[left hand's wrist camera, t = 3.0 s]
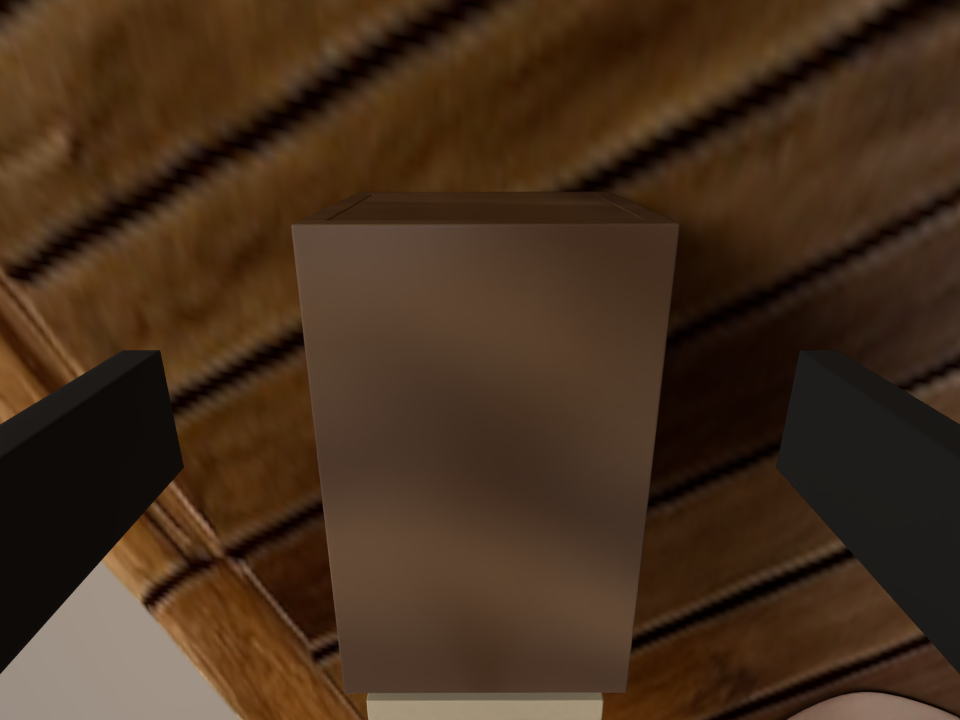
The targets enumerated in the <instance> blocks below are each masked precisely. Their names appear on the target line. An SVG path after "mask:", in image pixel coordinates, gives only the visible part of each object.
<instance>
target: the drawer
mask: <svg viewBox="0 0 960 720" xmlns="http://www.w3.org/2000/svg"><path fill="white" fill-rule="evenodd" d="M367 710H368V720H602V710H603V696H602V693H368V697H367Z"/></svg>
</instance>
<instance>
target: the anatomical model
mask: <svg viewBox="0 0 960 720" xmlns="http://www.w3.org/2000/svg"><path fill="white" fill-rule="evenodd" d="M787 720H960V718H958V717H956V716H954V715H952V714H949V713H947V712H945V711H942V710H940V709H937V708H934V707H932V706H929V705H926V704H923V703H920V702H917V701H913V700H910V699H906V698H903V697H899V696H894V695H889V694H884V693H874V692H858V693H850V694H845V695H840V696H837V697H834V698H831V699H828V700H825V701H823V702H820V703H818V704H816V705H813V706H811V707H809V708H807V709H805V710H803V711H801V712H799V713H797V714H796V715H794V716H792V717H790V718H788V719H787Z"/></svg>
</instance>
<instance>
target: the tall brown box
mask: <svg viewBox="0 0 960 720" xmlns="http://www.w3.org/2000/svg"><path fill="white" fill-rule="evenodd" d="M679 227H680V225H679V223H677V222H675V221H672V220H671V219H669V218H666V217H664V216H662V215H660V214H658V213H655V212H653V211H651V210H649V209H646V208H644V207H642V206H640V205H637V204H635V203H633V202H631V201H629V200H626V199H624V198H622V197H620V196H617V195H615V194H613V193H610V192H358V193H356V194H354V195H352V196H350V197H348V198H346V199H344V200H342V201H340V202H338V203H336V204H334V205H332V206H330V207H327V208H325V209H323V210H321V211H319V212H317V213H315V214H313V215H311V216H309V217H307V218H305V219H303V220H301V221H298V222H296V223H294V224H292V226H291V229H292V238H293V247H294V256H295V264H296V273H297V282H298V291H299V299H300V308H301V317H302V326H303V334H304V343H305V352H306V361H307V369H308V378H309V387H310V396H311V404H312V413H313V422H314V431H315V439H316V448H317V457H318V466H319V475H320V483H321V492H322V501H323V510H324V518H325V527H326V536H327V545H328V553H329V562H330V571H331V580H332V588H333V597H334V606H335V615H336V623H337V632H338V641H339V650H340V658H341V667H342V676H343V685H344V692H345V693H625V692H626V688H627V680H628V671H629V662H630V653H631V645H632V636H633V627H634V619H635V610H636V601H637V593H638V584H639V575H640V567H641V558H642V549H643V540H644V532H645V523H646V514H647V506H648V497H649V488H650V480H651V471H652V462H653V453H654V445H655V436H656V427H657V419H658V410H659V401H660V393H661V384H662V375H663V367H664V358H665V349H666V340H667V332H668V323H669V314H670V306H671V297H672V288H673V280H674V271H675V262H676V254H677V245H678V236H679Z"/></svg>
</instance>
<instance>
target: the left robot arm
mask: <svg viewBox="0 0 960 720" xmlns="http://www.w3.org/2000/svg"><path fill="white" fill-rule="evenodd" d="M183 468H184V466H183V461H182V456H181V451H180V446H179V441H178V436H177V431H176V426H175V422H174V417H173V412H172V407H171V402H170V397H169V392H168V387H167V382H166V377H165V372H164V367H163V362H162V358H161V353H160V350H123V351H121V352H119V353H118V354H116V355H114V356H113V357H111V358H109V359H108V360H106V361H104V362H103V363H101V364H100V365H98V366H96V367H95V368H93V369H91V370H90V371H88V372H86V373H85V374H83V375H81V376H80V377H78V378H76V379H75V380H73V381H71V382H70V383H68V384H66V385H65V386H63V387H62V388H60V389H58V390H57V391H55V392H53V393H52V394H50V395H48V396H47V397H45V398H43V399H42V400H40V401H38V402H37V403H35V404H33V405H32V406H30V407H28V408H27V409H25V410H24V411H22V412H20V413H19V414H17V415H15V416H14V417H12V418H10V419H9V420H7V421H5V422H4V423H2V424H0V674H1V673H2V671H3V670H4V669H5V668H6V667H7V666H8V665H9V664H10V662H11V661H12V660H13V659H14V658H15V657H16V656H17V655H18V654H19V652H20V651H21V650H22V649H23V648H24V647H25V646H26V645H27V643H28V642H29V641H30V640H31V639H32V638H33V637H34V636H35V634H36V633H37V632H38V631H39V630H40V629H41V628H42V627H43V625H44V624H45V623H46V622H47V621H48V620H49V619H50V618H51V616H52V615H53V614H54V613H55V612H56V611H57V610H58V609H59V607H60V606H61V605H62V604H63V603H64V602H65V601H66V599H67V598H68V597H69V596H70V595H71V594H72V593H73V592H74V591H75V589H76V588H77V587H78V586H79V585H80V584H81V583H82V581H83V580H84V579H85V578H86V577H87V576H88V575H89V574H90V572H91V571H92V570H93V569H94V568H95V567H96V566H97V565H98V563H99V562H100V561H101V560H102V559H103V558H104V557H105V556H106V555H107V553H108V552H109V551H110V550H111V549H112V548H113V547H114V546H115V544H116V543H117V542H118V541H119V540H120V539H121V538H122V537H123V535H124V534H125V533H126V532H127V531H128V530H129V529H130V528H131V526H132V525H133V524H134V523H135V522H136V521H137V520H138V519H139V517H140V516H141V515H142V514H143V513H144V512H145V511H146V509H147V508H148V507H149V506H150V505H151V504H152V503H153V502H154V500H155V499H156V498H157V497H158V496H159V495H160V494H161V493H162V491H163V490H164V489H165V488H166V487H167V486H168V485H169V484H170V482H171V481H172V480H173V479H174V478H175V477H176V476H177V475H178V473H179V472H180V471H181V470H182V469H183ZM776 468H777V469H778V470H779V471H780V472H781V473H782V475H783V476H784V477H785V478H786V479H787V480H788V481H789V482H790V484H791V485H792V486H793V487H794V488H795V489H796V490H797V491H798V493H799V494H800V495H801V496H802V497H803V498H804V499H805V500H806V502H807V503H808V504H809V505H810V506H811V507H812V508H813V510H814V511H815V512H816V513H817V514H818V515H819V516H820V517H821V519H822V520H823V521H824V522H825V523H826V524H827V525H828V526H829V528H830V529H831V530H832V531H833V532H834V533H835V534H836V535H837V537H838V538H839V539H840V540H841V541H842V542H843V543H844V544H845V546H846V547H847V548H848V549H849V550H850V551H851V552H852V553H853V555H854V556H855V557H856V558H857V559H858V560H859V561H860V562H861V564H862V565H863V566H864V567H865V568H866V569H867V570H868V571H869V573H870V574H871V575H872V576H873V577H874V578H875V579H876V580H877V582H878V583H879V584H880V585H881V586H882V587H883V588H884V589H885V591H886V592H887V593H888V594H889V595H890V596H891V597H892V598H893V600H894V601H895V602H896V603H897V604H898V605H899V606H900V607H901V609H902V610H903V611H904V612H905V613H906V614H907V615H908V616H909V618H910V619H911V620H912V621H913V622H914V623H915V624H916V625H917V627H918V628H919V629H920V630H921V631H922V632H923V633H924V634H925V636H926V637H927V638H928V639H929V640H930V641H931V642H932V643H933V645H934V646H935V647H936V648H937V649H938V650H939V651H940V652H941V654H942V655H943V656H944V657H945V658H946V659H947V660H948V661H949V663H950V664H951V665H952V666H953V667H954V668H955V669H956V670H957V672H958V673H959V674H960V424H958V423H956V422H955V421H953V420H951V419H950V418H948V417H946V416H945V415H943V414H941V413H940V412H938V411H936V410H935V409H933V408H932V407H930V406H928V405H927V404H925V403H923V402H922V401H920V400H918V399H917V398H915V397H913V396H912V395H910V394H908V393H907V392H905V391H903V390H902V389H900V388H898V387H897V386H895V385H894V384H892V383H890V382H889V381H887V380H885V379H884V378H882V377H880V376H879V375H877V374H875V373H874V372H872V371H870V370H869V369H867V368H865V367H864V366H862V365H860V364H859V363H857V362H856V361H854V360H852V359H851V358H849V357H847V356H846V355H844V354H842V353H841V352H839V351H837V350H800V353H799V358H798V362H797V367H796V372H795V377H794V382H793V387H792V392H791V397H790V402H789V407H788V412H787V417H786V421H785V426H784V431H783V436H782V441H781V446H780V451H779V456H778V461H777V466H776Z"/></svg>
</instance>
